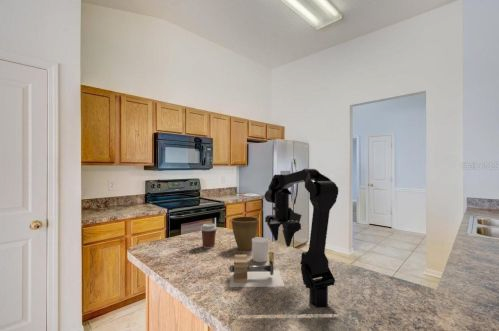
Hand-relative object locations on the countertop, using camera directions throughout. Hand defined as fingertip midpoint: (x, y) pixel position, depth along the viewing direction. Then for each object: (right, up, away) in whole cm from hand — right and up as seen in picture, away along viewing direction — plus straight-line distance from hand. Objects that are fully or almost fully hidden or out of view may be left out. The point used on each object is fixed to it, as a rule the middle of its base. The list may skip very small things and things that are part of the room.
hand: (281, 243), depth 96 cm
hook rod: (-13, -11, -4) cm, 17 cm away
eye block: (-17, -12, -5) cm, 21 cm away
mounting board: (-11, -13, -4) cm, 17 cm away
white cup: (-8, -13, +15) cm, 21 cm away
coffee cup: (-36, -13, +35) cm, 52 cm away
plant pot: (-16, -14, +32) cm, 39 cm away
